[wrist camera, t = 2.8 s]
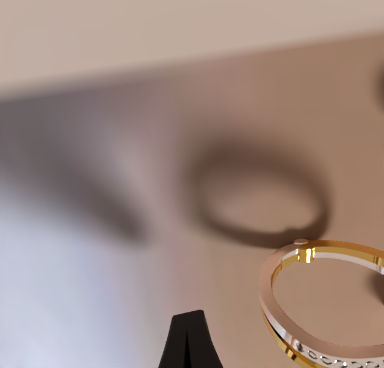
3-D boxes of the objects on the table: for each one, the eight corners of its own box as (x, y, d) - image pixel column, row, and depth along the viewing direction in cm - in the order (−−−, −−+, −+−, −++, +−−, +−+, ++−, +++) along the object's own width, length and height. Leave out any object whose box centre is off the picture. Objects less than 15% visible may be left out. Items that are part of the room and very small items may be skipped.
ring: (359, 212, 14) (579, 349, 6) (354, 258, 15) (536, 422, 7) (239, 230, 14) (315, 392, 6) (242, 275, 15) (311, 459, 7)
